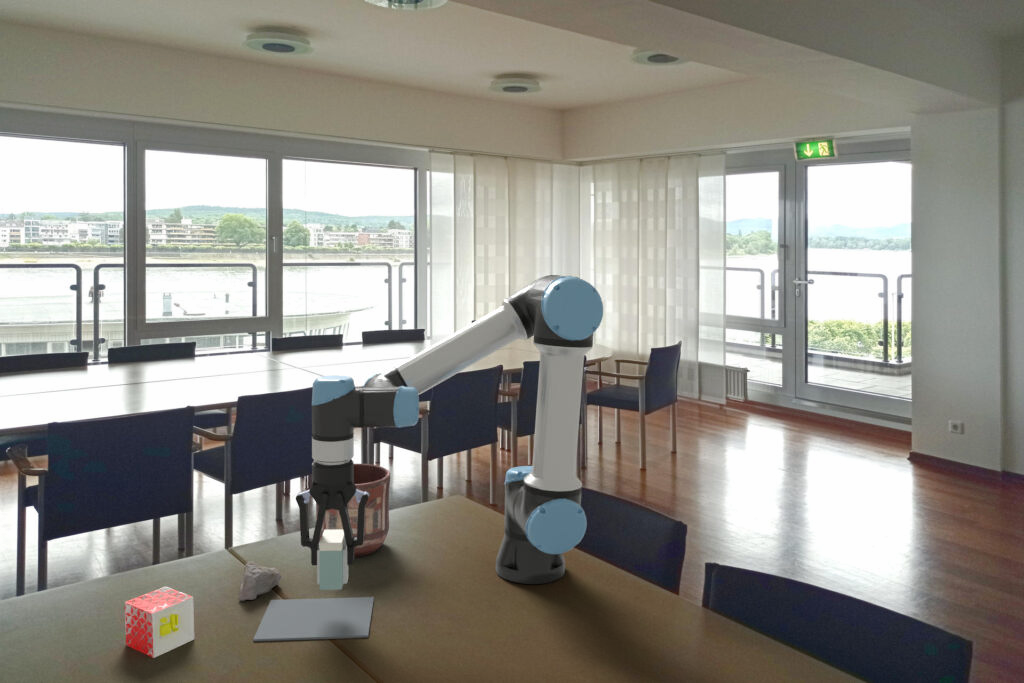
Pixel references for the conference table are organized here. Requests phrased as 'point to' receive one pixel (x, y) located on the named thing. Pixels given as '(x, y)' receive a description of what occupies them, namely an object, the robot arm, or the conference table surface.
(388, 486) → the pottery
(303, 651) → the conference table surface
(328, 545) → the painted block
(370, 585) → the conference table surface
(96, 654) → the conference table surface
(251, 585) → the stone
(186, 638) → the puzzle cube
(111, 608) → the conference table surface
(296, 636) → the slate mat
